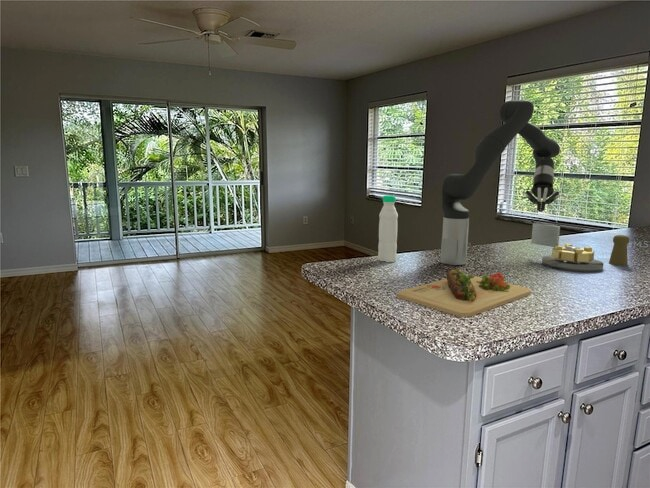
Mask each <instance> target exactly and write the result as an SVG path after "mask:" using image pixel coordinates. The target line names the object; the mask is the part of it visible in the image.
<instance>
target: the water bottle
mask: <svg viewBox="0 0 650 488" xmlns="http://www.w3.org/2000/svg"><path fill="white" fill-rule="evenodd" d="M382 203H383V205H382V208H381V210H380V212H379V214H378V215H379V220H378V221H379V222H378V246H377V250H378V254H377V260H378V261H379V260H380V261H379V262H381V261H388V262H387V263H394V262H393V261H395V262H396V261H397V255H398V254H397V250H398V245H397V243H398V218H399V214H398V212H397V209H396V207H395V203H396V196H395V195H383V196H382Z"/></svg>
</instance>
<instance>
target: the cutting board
mask: <svg viewBox="0 0 650 488" xmlns="http://www.w3.org/2000/svg"><path fill="white" fill-rule="evenodd" d="M531 294H532V290H531V288H529V287H523V286H521V285H516V284H512V283H507V281H505V277H504V275H503V274H501V273H500V271H498V272H496V273H492V274H491V275H490V276H489V275H487V274H482V275H481V276H476V275H474V274H467V273H464V271H462V270H460V269H459V268H456V269H451V270H449V271H448V272H447V273H446V278H445V279H441V280H436V281H433V282H430V283H425V284H422V285H417V286H414V287H409V288H406V289H402V290H399V291H398V292H397V298H398V297H399V298H398V299H402V300H405V301H408V302H411V303H415V304H418V305H422V306H425V307H428V308H430V309H433V310H437V311H441V312H444V313H447V314H450V315H454V316H457V317H460V318H462V317H463V318H464V317H467V318H468V317H473V316H475V315H478V314H481V313H484V312H486V311H489V310H491V309H494V308H497V307H500V306H502V305H505V304H509V303H510V302H513V301H516V300H518V299H522V298H524V297H526V296H529V295H531Z"/></svg>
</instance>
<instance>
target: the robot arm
mask: <svg viewBox="0 0 650 488" xmlns="http://www.w3.org/2000/svg"><path fill="white" fill-rule="evenodd" d="M534 106H535V105H534V103H533V102H532V101H530V100H528V99H527V100H526V99H515V100H514V99H513V100H507V101H505V102H503V103H502V104H501V106H500V108H499V118H500V121H501V122H502V123H503V124H502V125H499V126H498V127H495V128H494V129H492V130H491V131H489V132H487V133H486V134H485V135H484V136H483V137H482V138H481V139H480V141H479V142H478V144H477V145H476V146H475V149H474V151H473V164H472V166H471V168H470V169H469V170H468V171H467V172H466V173H450V174H448V175H446V176H445V178H444V179H443V181H442V187H441V209H442V212H443V220H442V235H441V236H442V237H441V246H440V248H441V249H440V264H445V265H451V266H461V265H462V266H463V265H466V264H467V257H468V255H467V254H468V240H469V227H470V226H469V225H470V211H469V209H467V208H466V207H464V206H463V204H461V200H462V201H465V200H469V199H471V198H472V197H473V196H474V195H475V193H476V192H477V190H478V189H479V188H480V186H481V184H482V182H483V180H484V179H485V176H487V175H488V172H489V171H490V170H491V169H492V167H493V166H494V164H495V163H496V162H497V160H499V158H500V157H501V155H502V154H503V152H504V151H505V149H506V148H507V147H508V145H509V144H510V143H511V142H512V140H514V138H515V137H516V136H517V134H518V135H519V136H520V137H521V138H523V139H524V140H525V142H526V143H527V144H528V145H529V146H530V147H531V148H532V155H533V158H534V162H535V168H534V169H535V170H534V174H533V184H532V188H531V189H530V190H526V191H525V197H526V198H527V199H528V200H529V201H530V202H531V203H532V204H533V205H535V204H536V211H537V212H538V213H543V212H544V211H545V209H546V205H551V204H552V203H553V202H555V201H556V200H557V199H558V198H559V197H560V192H559V191H555V188H554V180H555V179H554V178H555V177H554V175H555V173H554V170H555V168H554V166H555V161H554V159H553V158H555V157H557V156H558V155H559V154H560V152H561V147H560V145H559V144H558V142H557V141H556V140H554V139H553V138H551V137H549V136H546V134H545V132H543V130H542V129H541V128H540V127H539V126H536V125H535V124H533V123H531V122H530V121H531V119H532V117H533V115H534V109H535V108H534Z"/></svg>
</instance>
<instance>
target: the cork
mask: <svg viewBox="0 0 650 488" xmlns="http://www.w3.org/2000/svg"><path fill="white" fill-rule="evenodd" d="M630 241H631V239H630V237H629V236H628V235H622V234H617V235H614V236H613V237H612V242H613V247H612V250H611V253H610V258H609V261H608V264H609V265H613V266H621V267H622V266H623V267H626V266H628V265H629V264H628V244H629V243H630Z"/></svg>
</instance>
